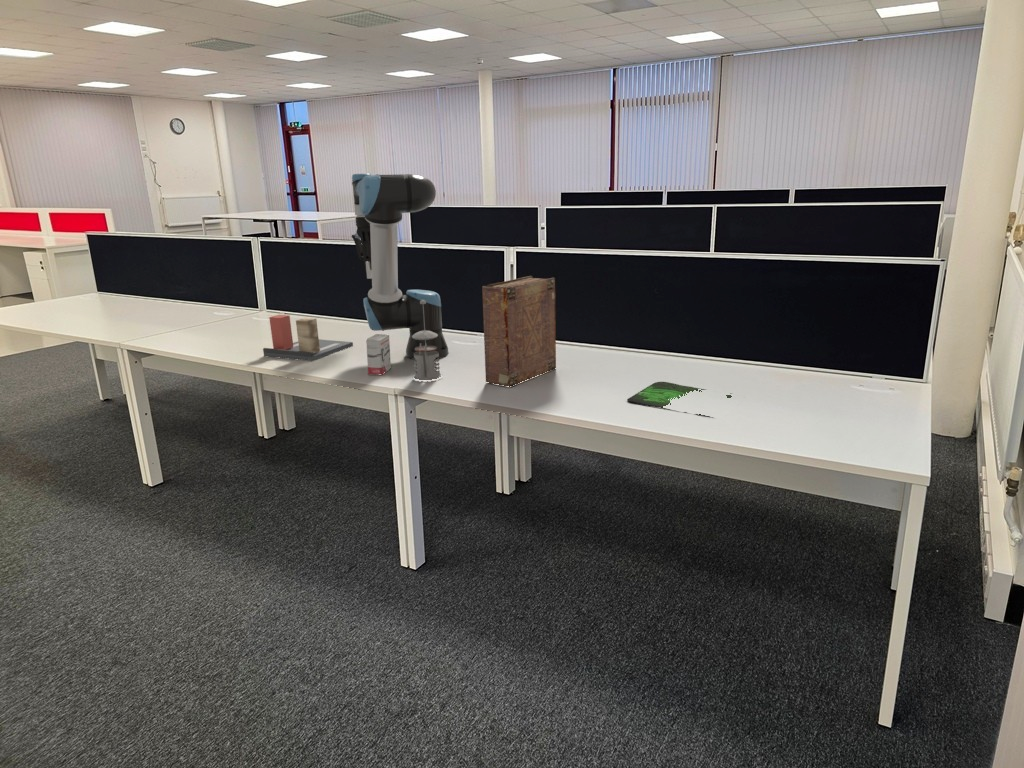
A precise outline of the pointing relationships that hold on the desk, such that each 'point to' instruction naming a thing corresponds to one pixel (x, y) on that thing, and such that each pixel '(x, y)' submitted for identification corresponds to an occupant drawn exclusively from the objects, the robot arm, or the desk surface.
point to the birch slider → (308, 335)
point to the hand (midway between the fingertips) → (370, 278)
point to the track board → (294, 353)
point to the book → (519, 329)
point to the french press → (426, 355)
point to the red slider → (281, 332)
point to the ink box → (378, 354)
